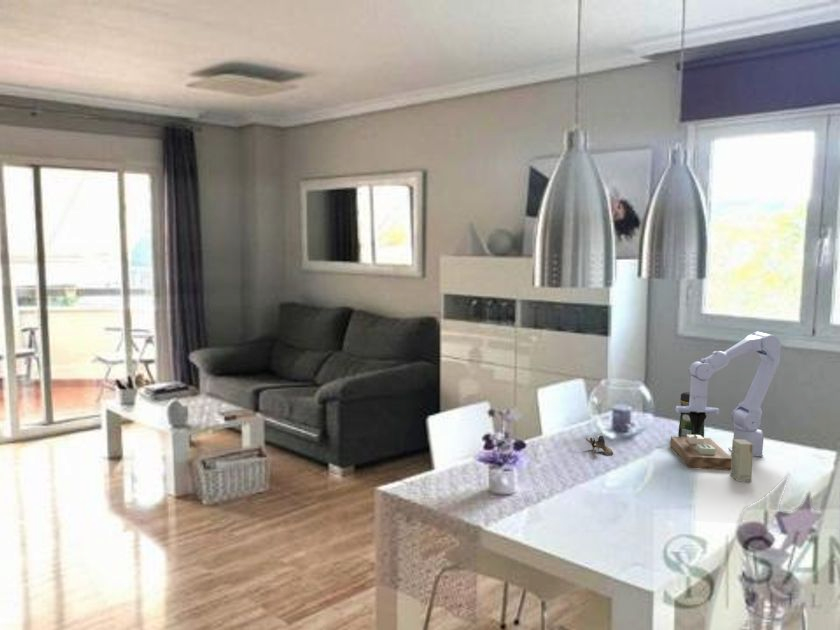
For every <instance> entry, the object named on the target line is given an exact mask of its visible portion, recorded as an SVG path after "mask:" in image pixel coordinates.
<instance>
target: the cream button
mask: <svg viewBox="0 0 840 630" xmlns="http://www.w3.org/2000/svg"><path fill="white" fill-rule="evenodd" d="M704 438H705V437H704ZM704 438H703V437H702V436H701V435H688V434H687V438H686V441H687V442H688V443H689V444H704Z"/></svg>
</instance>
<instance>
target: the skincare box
mask: <svg viewBox="0 0 840 630" xmlns="http://www.w3.org/2000/svg"><path fill="white" fill-rule="evenodd" d="M731 443H732V445H731V448H732V451H731V458H732V460H731V470H730V476H731V477H732V478H734V480H736V481H738V482H749V483H750V482H752V479H753V478H752V477H753V475H752V474H753V460H754V459H753V457H754V456H753V446H754V445H753V444H752V443H750V442H749V441H747V440H741V439H733V438H732V442H731Z"/></svg>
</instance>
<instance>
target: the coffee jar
mask: <svg viewBox="0 0 840 630" xmlns="http://www.w3.org/2000/svg"><path fill="white" fill-rule="evenodd" d="M689 399H690V391H685V392H682V393H681V394H680V400H679V402H680V406H689ZM677 434H678V435H677V437H687V434H688V435H701V436H702V437H703V438H705V420H704V421H703V423H702V425H701V427H700V430H699V433H698V434H696V433H693V428H692V423H691V420H690V417H689V415H688V413H685V412H680V416H679V426H678V432H677Z"/></svg>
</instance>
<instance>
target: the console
mask: <svg viewBox="0 0 840 630" xmlns="http://www.w3.org/2000/svg"><path fill="white" fill-rule="evenodd" d="M686 438H687V437H678V436H670V442H669V447H670V449H671V450H672V451H673V452H674V453H675V455H677V457H678V458H679V459H680V460H681V461H682V462H683V464H684V465H685V466H686V467H687V469H695V468H701V469H702V470H716V471H717V470H718V471H719V470H721V471H731V460H732V456H730V455H729V454H728V453H727V452H726V451H725V450H724V449H723V448H722V447H720V446H719V444H717V443H716V442H715V441H714V440H713V439H712V438H710V437H704V444H705V445H712V446H713V447H714V448H715V455H706V454H699V453H698V452H697V451H696V446H697V444H689V443H688V442H687V441H686ZM701 469H700V470H701Z"/></svg>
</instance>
